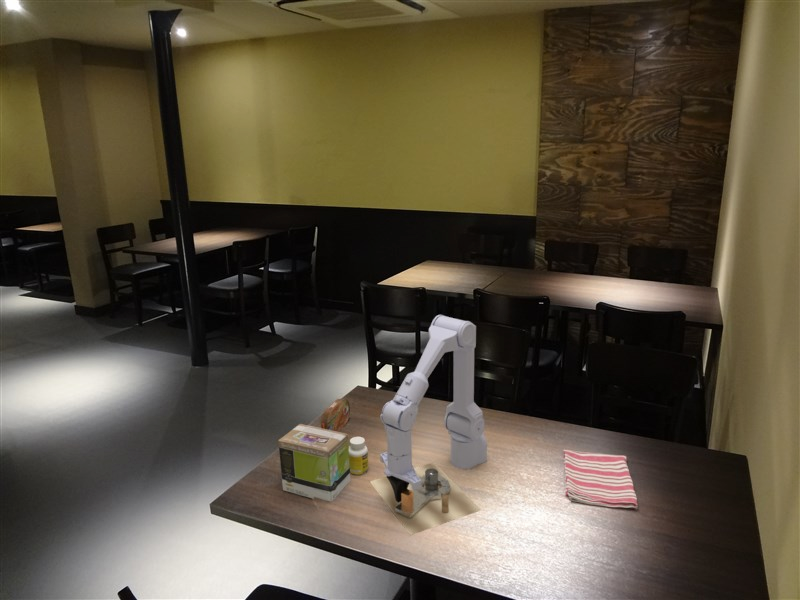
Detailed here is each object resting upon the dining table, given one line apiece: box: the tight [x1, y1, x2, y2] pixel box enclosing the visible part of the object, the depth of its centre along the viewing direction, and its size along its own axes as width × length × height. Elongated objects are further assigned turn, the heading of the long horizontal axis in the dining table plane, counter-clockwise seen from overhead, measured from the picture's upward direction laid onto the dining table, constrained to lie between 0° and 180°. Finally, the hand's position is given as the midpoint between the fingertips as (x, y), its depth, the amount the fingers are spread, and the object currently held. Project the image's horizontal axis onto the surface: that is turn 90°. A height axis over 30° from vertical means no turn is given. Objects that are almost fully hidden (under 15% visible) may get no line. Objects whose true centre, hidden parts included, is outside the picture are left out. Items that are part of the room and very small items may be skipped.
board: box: [369, 462, 482, 536], centre depth 138 cm, size 19×23×1 cm
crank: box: [395, 475, 450, 518], centre depth 137 cm, size 17×9×5 cm, turn 144°
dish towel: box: [562, 449, 639, 511], centre depth 145 cm, size 17×23×4 cm
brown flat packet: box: [320, 398, 351, 432], centre depth 172 cm, size 15×3×8 cm, turn 159°
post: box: [425, 468, 438, 491], centre depth 140 cm, size 3×3×5 cm
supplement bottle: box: [349, 436, 369, 476], centre depth 149 cm, size 5×5×10 cm
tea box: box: [277, 423, 351, 502], centre depth 142 cm, size 15×10×15 cm
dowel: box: [442, 495, 449, 513], centre depth 132 cm, size 2×2×4 cm
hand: (400, 500), depth 134 cm, fingers closed
